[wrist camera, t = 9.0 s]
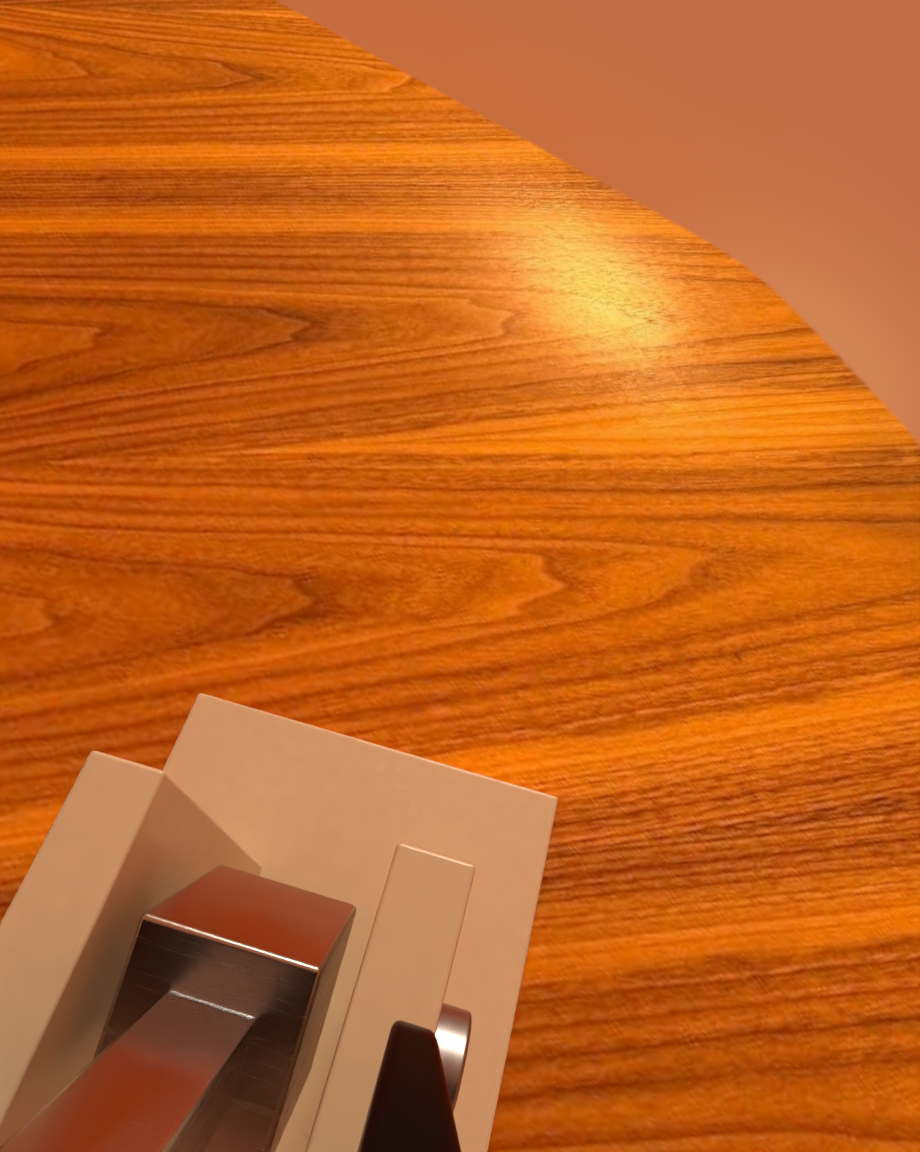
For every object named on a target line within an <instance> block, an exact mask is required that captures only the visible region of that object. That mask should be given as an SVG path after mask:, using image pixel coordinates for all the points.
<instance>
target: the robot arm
mask: <svg viewBox="0 0 920 1152" xmlns="http://www.w3.org/2000/svg"><path fill="white" fill-rule="evenodd" d="M357 1152H461V1148H460V1143H459V1139H458V1134H457V1129H456V1125H455V1120H454V1115H453V1111H452V1106H451V1102H450V1097H449V1092H448V1088H447V1083H446V1078H445V1074H444V1069H443V1064H442V1060H441V1055H440V1050H439V1046H438V1041H437V1038H436V1036H435V1034H434V1033H433V1031H432V1030H430V1029H427V1028H424V1027H421V1026H418V1025H414V1024H411V1023H408V1022H405V1021H402V1020H398V1021H396V1022H394V1024H393V1025H392V1027H391V1030H390V1034H389V1037H388V1041H387V1044H386V1048H385V1051H384V1055H383V1058H382V1062H381V1066H380V1069H379V1073H378V1076H377V1080H376V1083H375V1087H374V1091H373V1094H372V1098H371V1102H370V1105H369V1109H368V1113H367V1117H366V1120H365V1124H364V1128H363V1132H362V1135H361V1139H360V1143H359V1147H358V1150H357Z"/></svg>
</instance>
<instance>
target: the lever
mask: <svg viewBox="0 0 920 1152" xmlns="http://www.w3.org/2000/svg"><path fill="white" fill-rule="evenodd" d="M355 915H356V907H355V906H354V905H353V904H349V903H346V902H343V901H339V900H336V899H333V898H330V897H326V896H323V895H320V894H317V893H313V892H310V891H307V890H303V889H300V888H297V887H294V886H290V885H287V884H284V883H281V882H277V881H274V880H271V879H267V878H264V877H261V876H258V875H254V874H251V873H248V872H245V871H241V870H238V869H235V868H231V867H228V866H225V865H219V866H217V867H216V868H214V869H213V870H211V871H209V872H208V873H206V874H205V875H203V876H201V877H200V878H198V879H197V880H195V881H194V882H192V883H190V884H189V885H187V886H186V887H184V888H182V889H181V890H179V891H178V892H176V893H174V894H173V895H171V896H170V897H168V898H167V899H165V900H163V901H162V902H160V903H159V904H157V905H155V906H154V907H152V908H151V909H149V910H147V911H146V912H144V913H143V915H142V916H141V917H140V920H139V923H138V926H137V929H136V932H135V935H134V938H133V941H132V944H131V947H130V950H129V953H128V956H127V959H126V962H125V965H124V968H123V971H122V974H121V977H120V980H119V983H118V986H117V989H116V992H115V995H114V998H113V1000H112V1003H111V1006H110V1009H109V1012H108V1015H107V1018H106V1021H105V1024H104V1027H103V1030H102V1033H101V1036H100V1039H99V1042H98V1045H97V1048H96V1051H95V1054H94V1057H93V1060H92V1061H91V1062H90V1063H89V1064H88V1065H87V1066H86V1067H85V1068H84V1069H83V1070H82V1071H81V1072H80V1073H78V1074H77V1075H76V1076H75V1077H74V1078H73V1079H72V1080H71V1081H70V1082H69V1083H68V1084H67V1085H66V1086H65V1087H63V1088H62V1089H61V1090H60V1091H59V1092H58V1093H57V1094H56V1095H55V1096H54V1097H53V1098H52V1099H51V1100H50V1101H49V1102H47V1103H46V1104H45V1105H44V1106H43V1107H42V1108H41V1109H40V1110H39V1111H38V1112H37V1113H36V1114H35V1115H34V1116H32V1117H31V1118H30V1119H29V1120H28V1121H27V1122H26V1123H25V1124H24V1125H23V1126H22V1127H21V1128H20V1129H19V1130H18V1131H16V1132H15V1133H14V1134H13V1135H12V1136H11V1137H10V1138H9V1139H8V1140H7V1141H6V1142H5V1143H4V1144H3V1145H1V1146H0V1152H275V1151H276V1149H277V1147H278V1144H279V1142H280V1140H281V1137H282V1135H283V1133H284V1131H285V1128H286V1126H287V1124H288V1121H289V1119H290V1117H291V1114H292V1112H293V1110H294V1108H295V1105H296V1103H297V1101H298V1098H299V1096H300V1094H301V1092H302V1089H303V1087H304V1085H305V1082H306V1080H307V1078H308V1075H309V1073H310V1071H311V1067H312V1064H313V1060H314V1057H315V1053H316V1050H317V1046H318V1043H319V1039H320V1036H321V1032H322V1029H323V1026H324V1022H325V1019H326V1015H327V1012H328V1008H329V1005H330V1001H331V998H332V994H333V991H334V987H335V984H336V980H337V977H338V974H339V970H340V967H341V963H342V960H343V956H344V953H345V949H346V946H347V942H348V939H349V935H350V932H351V928H352V925H353V921H354V918H355Z"/></svg>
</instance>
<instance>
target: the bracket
mask: <svg viewBox="0 0 920 1152" xmlns="http://www.w3.org/2000/svg"><path fill="white" fill-rule="evenodd" d="M557 803H558V799H557V797H555V796H552V795H549V794H546V793H542V792H539V791H535V790H532V789H528V788H525V787H522V786H518V785H515V784H511V783H508V782H504V781H501V780H498V779H494V778H491V777H487V776H484V775H480V774H477V773H474V772H470V771H467V770H463V769H460V768H456V767H453V766H450V765H446V764H443V763H439V762H436V761H432V760H429V759H426V758H422V757H419V756H415V755H412V754H409V753H405V752H402V751H398V750H395V749H391V748H388V747H385V746H381V745H378V744H374V743H371V742H367V741H364V740H361V739H357V738H354V737H350V736H347V735H343V734H340V733H337V732H333V731H330V730H326V729H323V728H319V727H316V726H313V725H309V724H306V723H302V722H299V721H295V720H292V719H289V718H285V717H282V716H278V715H275V714H271V713H268V712H265V711H261V710H258V709H254V708H251V707H247V706H244V705H241V704H237V703H234V702H230V701H227V700H223V699H220V698H217V697H213V696H210V695H206V694H203V693H200V694H199V695H198V696H197V698H196V700H195V702H194V704H193V707H192V709H191V711H190V713H189V715H188V717H187V719H186V721H185V723H184V726H183V728H182V730H181V732H180V734H179V736H178V738H177V740H176V743H175V745H174V747H173V749H172V751H171V753H170V755H169V757H168V759H167V762H166V764H165V766H164V768H163V770H159V769H156V768H152V767H149V766H146V765H142V764H139V763H136V762H132V761H129V760H126V759H122V758H119V757H116V756H112V755H109V754H106V753H102V752H99V751H92V752H91V753H90V755H89V756H88V758H87V760H86V762H85V764H84V766H83V768H82V770H81V772H80V773H79V775H78V777H77V779H76V781H75V783H74V785H73V787H72V789H71V791H70V792H69V794H68V796H67V798H66V800H65V802H64V804H63V806H62V808H61V810H60V811H59V813H58V815H57V817H56V819H55V821H54V823H53V825H52V827H51V828H50V830H49V832H48V834H47V836H46V838H45V840H44V842H43V844H42V846H41V847H40V849H39V851H38V853H37V855H36V857H35V859H34V861H33V863H32V864H31V866H30V868H29V870H28V872H27V874H26V876H25V878H24V880H23V882H22V883H21V885H20V887H19V889H18V891H17V893H16V895H15V897H14V899H13V901H12V902H11V904H10V906H9V908H8V910H7V912H6V914H5V916H4V918H3V919H2V921H1V923H0V1146H1V1145H3V1144H4V1143H5V1142H6V1141H7V1140H8V1139H9V1138H10V1137H11V1136H12V1135H13V1134H14V1133H15V1132H16V1131H18V1130H19V1129H20V1128H21V1127H22V1126H23V1125H24V1124H25V1123H26V1122H27V1121H28V1120H29V1119H30V1118H31V1117H32V1116H34V1115H35V1114H36V1113H37V1112H38V1111H39V1110H40V1109H41V1108H42V1107H43V1106H44V1105H45V1104H46V1103H47V1102H49V1101H50V1100H51V1099H52V1098H53V1097H54V1096H55V1095H56V1094H57V1093H58V1092H59V1091H60V1090H61V1089H62V1088H63V1087H65V1086H66V1085H67V1084H68V1083H69V1082H70V1081H71V1080H72V1079H73V1078H74V1077H75V1076H76V1075H77V1074H78V1073H80V1072H81V1071H82V1070H83V1069H84V1068H85V1067H86V1066H87V1065H88V1064H89V1063H90V1062H91V1061H92V1060H93V1057H94V1054H95V1051H96V1048H97V1045H98V1042H99V1039H100V1036H101V1033H102V1030H103V1027H104V1024H105V1021H106V1018H107V1015H108V1012H109V1009H110V1006H111V1003H112V1000H113V998H114V995H115V992H116V989H117V986H118V983H119V980H120V977H121V974H122V971H123V968H124V965H125V962H126V959H127V956H128V953H129V950H130V947H131V944H132V941H133V938H134V935H135V932H136V929H137V926H138V923H139V920H140V917H141V916H142V915H143V913H144V912H146V911H147V910H149V909H151V908H152V907H154V906H155V905H157V904H159V903H160V902H162V901H163V900H165V899H167V898H168V897H170V896H171V895H173V894H174V893H176V892H178V891H179V890H181V889H182V888H184V887H186V886H187V885H189V884H190V883H192V882H194V881H195V880H197V879H198V878H200V877H201V876H203V875H205V874H206V873H208V872H209V871H211V870H213V869H214V868H216V867H217V866H219V865H225V866H228V867H231V868H235V869H238V870H241V871H245V872H248V873H251V874H254V875H258V876H261V877H264V878H267V879H271V880H274V881H277V882H281V883H284V884H287V885H290V886H294V887H297V888H300V889H303V890H307V891H310V892H313V893H317V894H320V895H323V896H326V897H330V898H333V899H336V900H339V901H343V902H346V903H349V904H353V905H354V906H355V907H356V915H355V918H354V921H353V925H352V928H351V932H350V935H349V939H348V942H347V946H346V949H345V953H344V956H343V960H342V963H341V967H340V970H339V974H338V977H337V980H336V984H335V987H334V991H333V994H332V998H331V1001H330V1005H329V1008H328V1012H327V1015H326V1019H325V1022H324V1026H323V1029H322V1032H321V1036H320V1039H319V1043H318V1046H317V1050H316V1053H315V1057H314V1060H313V1064H312V1067H311V1071H310V1073H309V1075H308V1078H307V1080H306V1082H305V1085H304V1087H303V1089H302V1092H301V1094H300V1096H299V1098H298V1101H297V1103H296V1105H295V1108H294V1110H293V1112H292V1114H291V1117H290V1119H289V1121H288V1124H287V1126H286V1128H285V1131H284V1133H283V1135H282V1137H281V1140H280V1142H279V1144H278V1147H277V1149H276V1151H275V1152H357V1150H358V1147H359V1143H360V1139H361V1135H362V1132H363V1128H364V1124H365V1120H366V1117H367V1113H368V1109H369V1105H370V1102H371V1098H372V1094H373V1091H374V1087H375V1083H376V1080H377V1076H378V1073H379V1069H380V1066H381V1062H382V1058H383V1055H384V1051H385V1048H386V1044H387V1041H388V1037H389V1034H390V1030H391V1027H392V1025H393V1024H394V1022H396V1021H398V1020H402V1021H405V1022H408V1023H411V1024H414V1025H418V1026H421V1027H424V1028H427V1029H430V1030H432V1031H433V1033H434V1034H435V1036H436V1038H437V1041H438V1046H439V1050H440V1055H441V1060H442V1064H443V1069H444V1074H445V1078H446V1083H447V1088H448V1092H449V1097H450V1102H451V1106H452V1111H453V1115H454V1120H455V1125H456V1129H457V1134H458V1139H459V1143H460V1148H461V1152H488V1148H489V1143H490V1138H491V1133H492V1128H493V1123H494V1118H495V1113H496V1108H497V1103H498V1098H499V1093H500V1088H501V1083H502V1078H503V1073H504V1068H505V1063H506V1058H507V1053H508V1048H509V1043H510V1038H511V1033H512V1028H513V1023H514V1018H515V1013H516V1008H517V1003H518V998H519V993H520V988H521V983H522V978H523V973H524V968H525V963H526V958H527V953H528V948H529V943H530V938H531V933H532V928H533V923H534V918H535V913H536V908H537V903H538V898H539V893H540V888H541V883H542V878H543V873H544V868H545V863H546V858H547V853H548V848H549V843H550V838H551V833H552V828H553V823H554V818H555V813H556V808H557Z"/></svg>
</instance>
